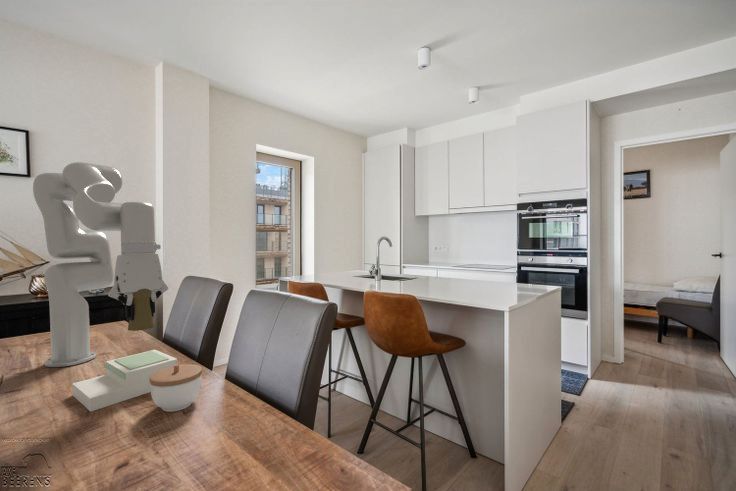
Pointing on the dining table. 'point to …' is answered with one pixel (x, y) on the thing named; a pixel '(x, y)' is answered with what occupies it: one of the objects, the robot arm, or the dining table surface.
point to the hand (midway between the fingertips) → (140, 317)
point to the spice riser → (121, 379)
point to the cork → (141, 311)
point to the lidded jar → (175, 386)
